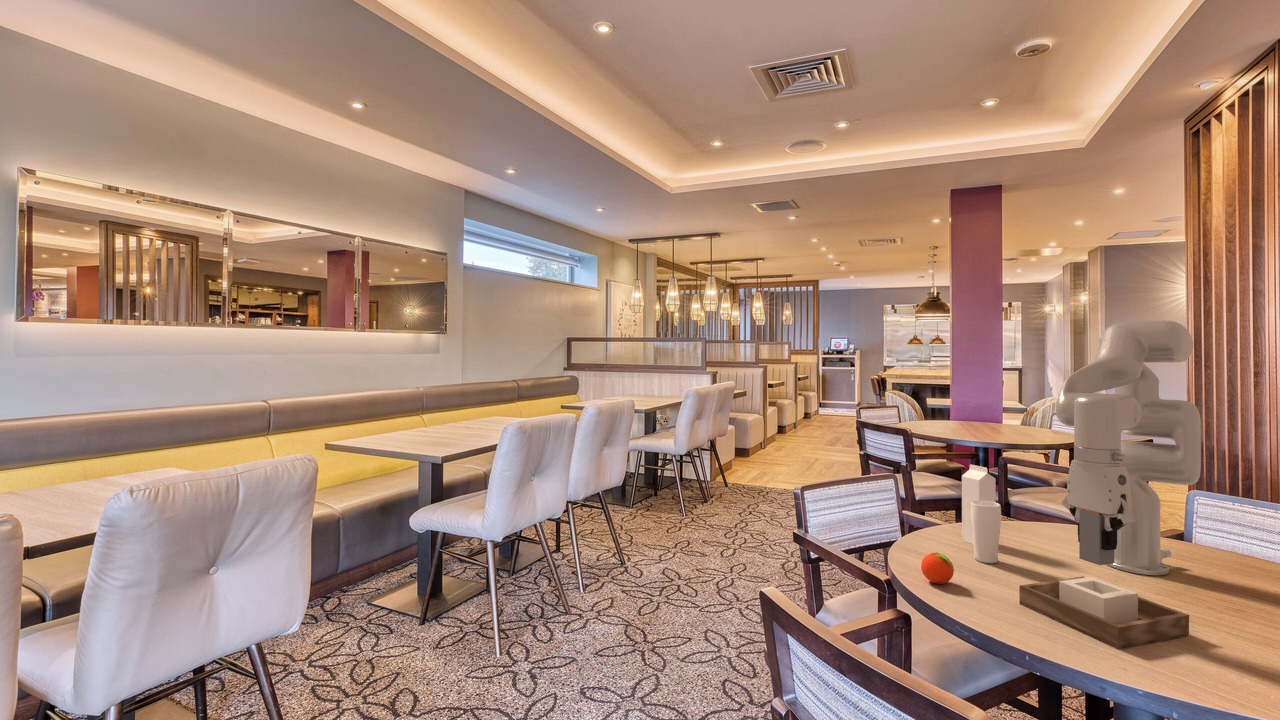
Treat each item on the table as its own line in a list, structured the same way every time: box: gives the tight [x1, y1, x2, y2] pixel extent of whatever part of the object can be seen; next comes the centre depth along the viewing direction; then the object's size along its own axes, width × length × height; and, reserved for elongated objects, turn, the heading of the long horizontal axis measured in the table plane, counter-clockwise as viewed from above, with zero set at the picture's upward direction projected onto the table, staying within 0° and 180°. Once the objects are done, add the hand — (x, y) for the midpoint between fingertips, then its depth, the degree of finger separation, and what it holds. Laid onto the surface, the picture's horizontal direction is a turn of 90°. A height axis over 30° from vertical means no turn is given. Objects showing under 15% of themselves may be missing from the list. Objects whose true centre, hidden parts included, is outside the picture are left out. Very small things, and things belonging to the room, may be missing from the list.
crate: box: [1018, 576, 1190, 650], centre depth 116 cm, size 18×20×4 cm
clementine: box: [920, 552, 955, 585], centre depth 135 cm, size 8×7×7 cm
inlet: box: [1059, 576, 1139, 624], centre depth 118 cm, size 9×9×5 cm
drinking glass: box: [971, 500, 1002, 564], centre depth 150 cm, size 7×7×15 cm
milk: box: [961, 464, 997, 545], centre depth 164 cm, size 6×6×22 cm
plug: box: [1078, 509, 1114, 566], centre depth 117 cm, size 4×4×11 cm
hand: (1097, 544), depth 117 cm, fingers closed on plug, 4 cm apart
